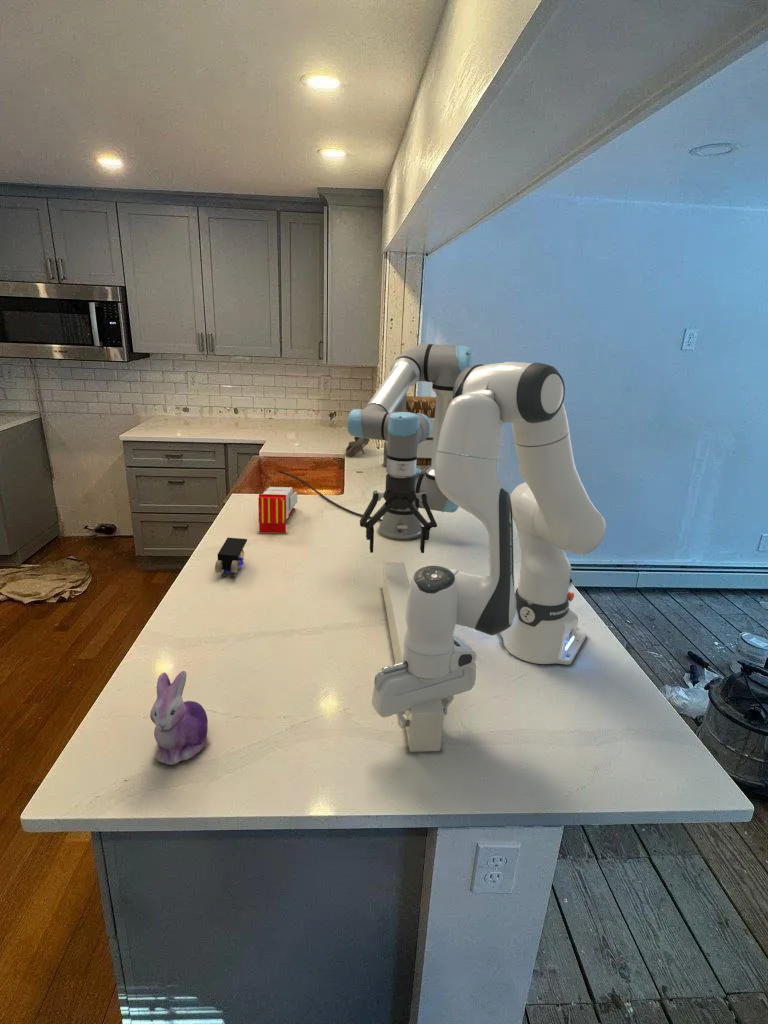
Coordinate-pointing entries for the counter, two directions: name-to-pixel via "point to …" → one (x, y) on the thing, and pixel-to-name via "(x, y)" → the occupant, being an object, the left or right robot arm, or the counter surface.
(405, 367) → the left robot arm
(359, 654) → the counter surface
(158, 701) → the figurine
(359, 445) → the fossil
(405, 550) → the counter surface
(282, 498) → the toy
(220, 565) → the black wheeled rover
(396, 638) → the post
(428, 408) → the transformer
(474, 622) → the right robot arm
